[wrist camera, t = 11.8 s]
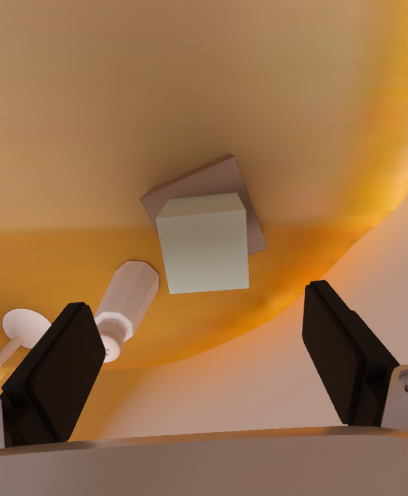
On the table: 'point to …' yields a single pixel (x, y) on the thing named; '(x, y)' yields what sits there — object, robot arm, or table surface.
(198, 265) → the sage block
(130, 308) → the pepper shaker
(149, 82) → the table surface
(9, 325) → the champagne flute
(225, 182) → the walnut block
